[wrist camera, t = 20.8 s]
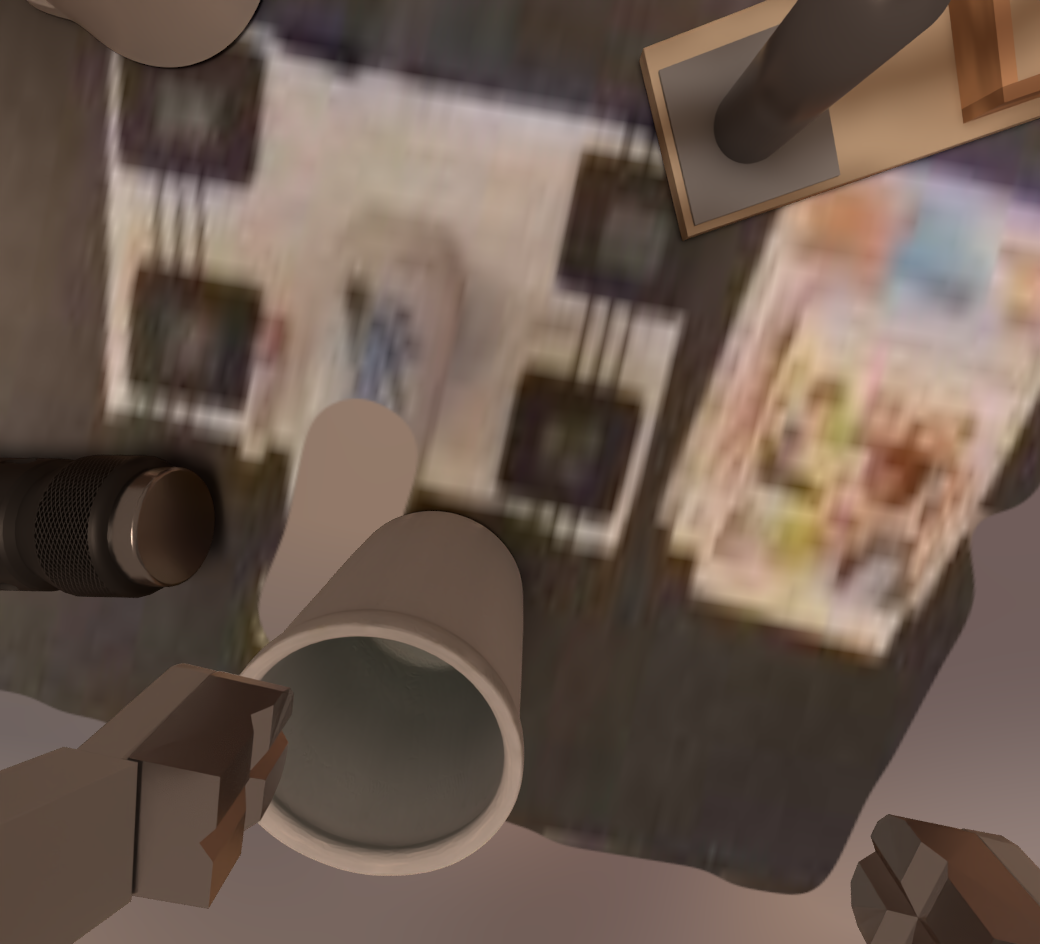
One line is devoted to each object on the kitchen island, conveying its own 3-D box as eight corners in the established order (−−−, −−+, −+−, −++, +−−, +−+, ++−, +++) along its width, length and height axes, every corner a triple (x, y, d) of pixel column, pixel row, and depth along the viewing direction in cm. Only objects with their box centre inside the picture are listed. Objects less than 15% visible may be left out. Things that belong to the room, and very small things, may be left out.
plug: (705, 98, 33) (872, -147, 16) (779, 69, 32) (1027, -212, 16) (723, 174, 34) (897, 17, 17) (795, 148, 33) (1045, -40, 17)
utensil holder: (505, 694, 45) (483, 910, 28) (330, 651, 45) (201, 843, 28) (552, 532, 42) (559, 668, 25) (361, 483, 41) (235, 587, 24)
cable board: (639, 60, 34) (653, 19, 30) (1084, -111, 31) (1173, -185, 27) (682, 240, 36) (701, 227, 32) (1100, 97, 33) (1184, 60, 29)
